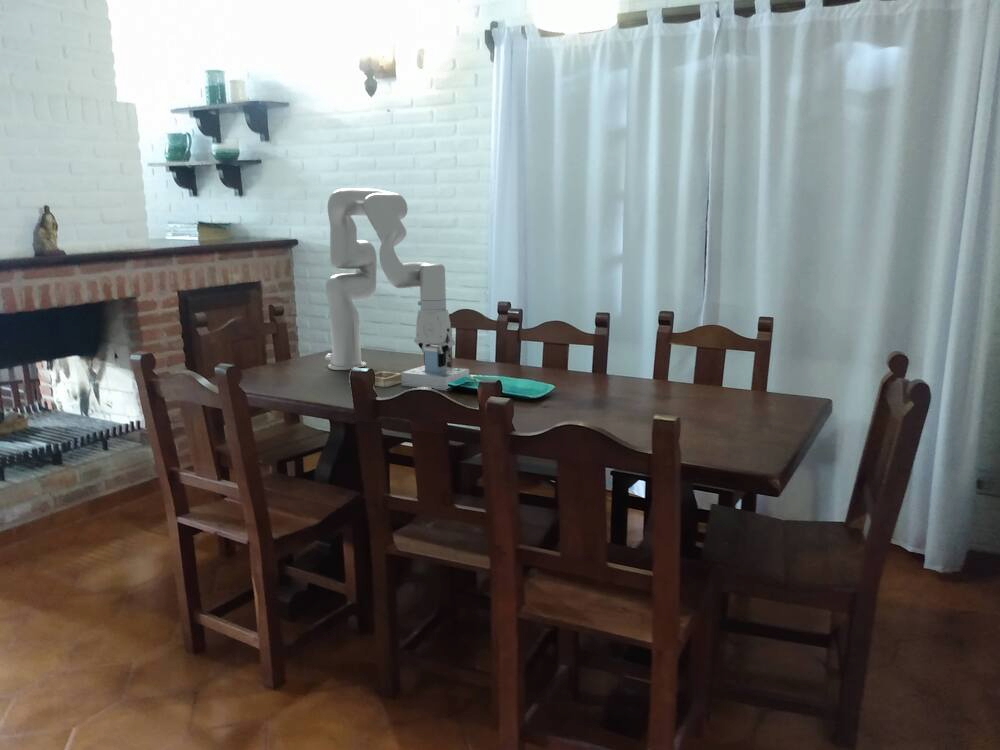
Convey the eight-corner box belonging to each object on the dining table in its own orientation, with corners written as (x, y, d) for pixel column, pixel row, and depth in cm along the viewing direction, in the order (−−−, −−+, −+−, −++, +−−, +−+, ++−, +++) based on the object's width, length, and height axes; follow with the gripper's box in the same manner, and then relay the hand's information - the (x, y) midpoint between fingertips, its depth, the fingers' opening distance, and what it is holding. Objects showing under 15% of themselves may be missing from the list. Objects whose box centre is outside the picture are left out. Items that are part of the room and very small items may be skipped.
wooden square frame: (363, 384, 232) (363, 376, 232) (381, 378, 240) (381, 371, 239) (386, 387, 228) (386, 378, 228) (404, 381, 236) (403, 373, 235)
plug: (425, 376, 231) (424, 347, 229) (433, 373, 234) (432, 345, 233) (437, 377, 229) (436, 348, 227) (445, 375, 232) (444, 346, 231)
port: (401, 385, 230) (401, 371, 229) (426, 377, 241) (425, 363, 240) (446, 390, 223) (445, 375, 222) (469, 382, 234) (469, 368, 233)
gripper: (402, 305, 228) (405, 365, 232) (450, 308, 220) (451, 370, 224) (417, 302, 234) (419, 361, 238) (464, 305, 226) (465, 365, 230)
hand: (435, 365), depth 231 cm, fingers closed on plug, 4 cm apart
